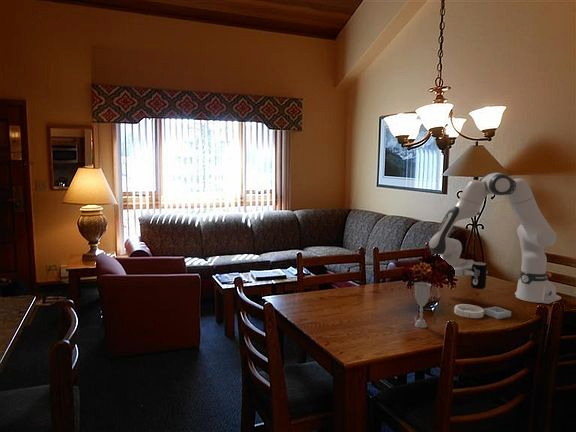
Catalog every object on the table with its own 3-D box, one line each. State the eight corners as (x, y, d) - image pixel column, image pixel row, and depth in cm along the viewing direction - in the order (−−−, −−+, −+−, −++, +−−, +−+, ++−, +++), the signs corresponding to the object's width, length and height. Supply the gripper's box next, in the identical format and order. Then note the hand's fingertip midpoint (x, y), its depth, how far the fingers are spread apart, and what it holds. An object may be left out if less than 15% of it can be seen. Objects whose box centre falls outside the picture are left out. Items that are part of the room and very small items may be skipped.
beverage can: (486, 290, 210) (488, 265, 208) (472, 289, 211) (473, 264, 210) (483, 286, 216) (485, 262, 215) (469, 285, 217) (470, 261, 216)
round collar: (468, 307, 212) (468, 302, 212) (489, 315, 201) (490, 310, 201) (448, 311, 207) (448, 306, 207) (469, 319, 196) (469, 314, 196)
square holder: (496, 311, 207) (496, 306, 207) (510, 316, 200) (511, 311, 200) (483, 313, 204) (483, 308, 204) (498, 319, 197) (498, 313, 197)
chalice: (408, 324, 189) (410, 283, 187) (418, 321, 194) (420, 281, 192) (423, 329, 184) (425, 287, 182) (433, 326, 188) (434, 284, 186)
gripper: (443, 262, 220) (464, 268, 207) (473, 259, 228) (495, 264, 216) (442, 275, 220) (464, 281, 208) (472, 271, 229) (495, 277, 216)
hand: (480, 273), depth 212 cm, fingers closed on beverage can, 7 cm apart
